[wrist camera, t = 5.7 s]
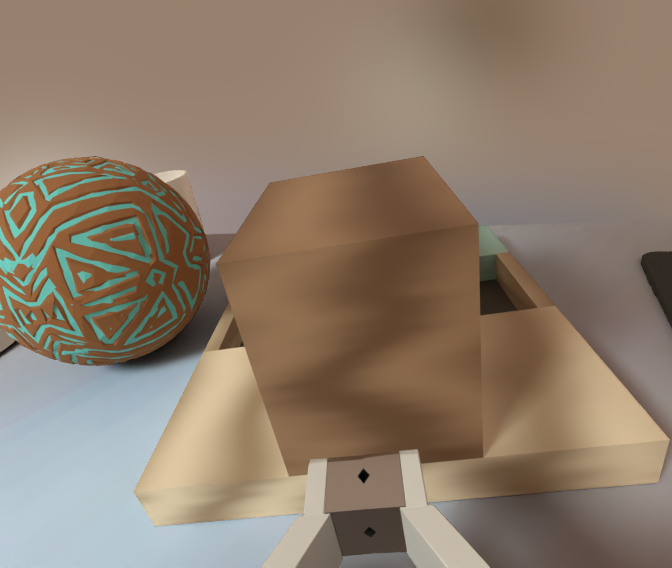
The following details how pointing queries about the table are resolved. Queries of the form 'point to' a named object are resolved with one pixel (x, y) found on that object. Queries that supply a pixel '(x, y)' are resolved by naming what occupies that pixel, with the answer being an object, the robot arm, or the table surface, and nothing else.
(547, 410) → the board
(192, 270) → the decorative sphere
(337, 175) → the walnut block
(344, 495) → the robot arm
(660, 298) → the phone
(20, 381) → the table surface
